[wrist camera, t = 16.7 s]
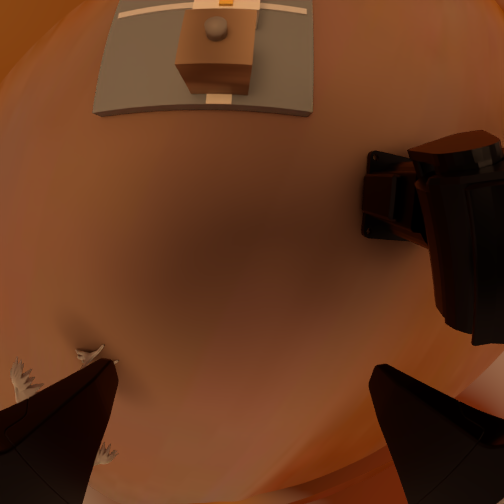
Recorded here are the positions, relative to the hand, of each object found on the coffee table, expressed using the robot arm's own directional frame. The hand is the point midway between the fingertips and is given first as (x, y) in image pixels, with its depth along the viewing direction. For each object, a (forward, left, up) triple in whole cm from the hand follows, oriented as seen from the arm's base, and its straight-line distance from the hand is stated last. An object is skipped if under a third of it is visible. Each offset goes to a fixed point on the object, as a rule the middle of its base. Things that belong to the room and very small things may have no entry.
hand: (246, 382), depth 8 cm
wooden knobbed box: (+2, -13, -10) cm, 17 cm away
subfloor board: (+4, -17, -12) cm, 21 cm away
